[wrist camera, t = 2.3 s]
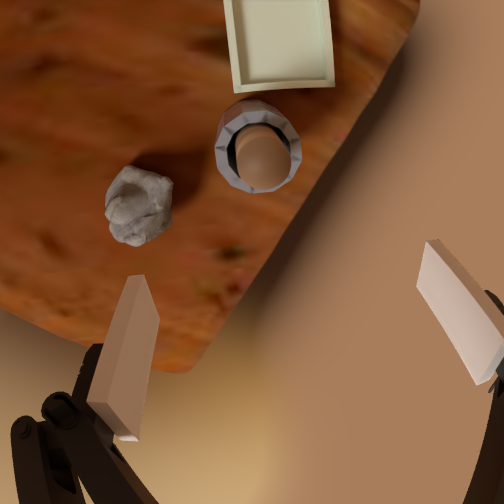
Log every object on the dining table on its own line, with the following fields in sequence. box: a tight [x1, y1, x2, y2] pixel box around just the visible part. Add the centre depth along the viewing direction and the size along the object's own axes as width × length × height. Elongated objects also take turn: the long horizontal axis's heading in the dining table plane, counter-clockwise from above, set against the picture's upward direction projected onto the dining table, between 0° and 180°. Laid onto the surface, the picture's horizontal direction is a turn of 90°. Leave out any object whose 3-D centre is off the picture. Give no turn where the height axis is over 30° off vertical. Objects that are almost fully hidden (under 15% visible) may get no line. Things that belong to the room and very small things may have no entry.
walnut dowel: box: [234, 122, 291, 190], centre depth 29 cm, size 5×4×14 cm
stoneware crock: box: [214, 99, 302, 194], centre depth 32 cm, size 8×8×10 cm
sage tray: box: [223, 0, 335, 93], centre depth 29 cm, size 14×11×2 cm
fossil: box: [105, 165, 174, 247], centre depth 36 cm, size 11×9×8 cm
